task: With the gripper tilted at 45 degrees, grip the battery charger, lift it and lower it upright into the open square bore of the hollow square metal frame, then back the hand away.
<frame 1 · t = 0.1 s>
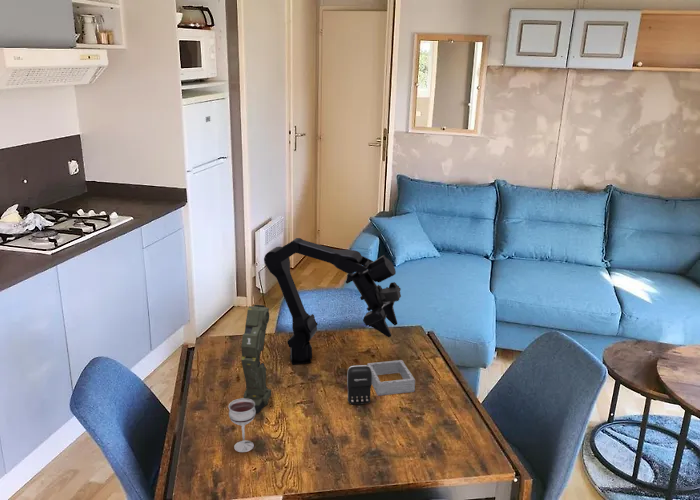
hand: (393, 330, 185), 15 cm above the table, tool tilted 35°, fingers open, 9 cm apart
hollow square metal frame: (390, 382, 183), on the table
wineglass: (244, 446, 152), on the table
battery charger: (359, 403, 172), on the table
mechanical leg: (257, 401, 173), on the table
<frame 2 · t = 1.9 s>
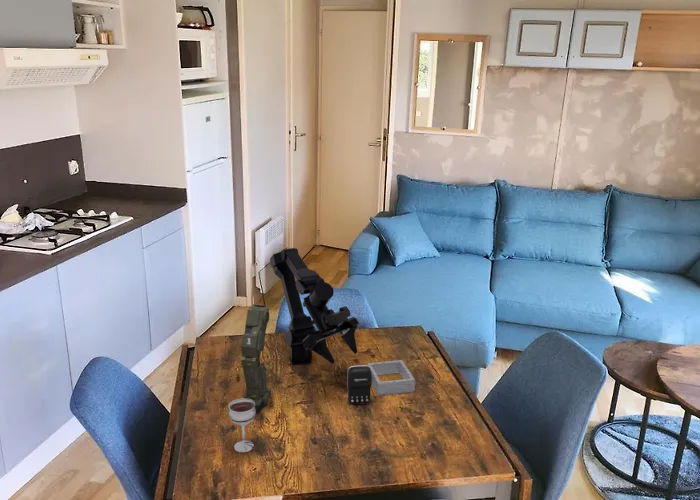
hand: (345, 358, 173), 12 cm above the table, tool tilted 45°, fingers open, 9 cm apart
nothing on the table moved.
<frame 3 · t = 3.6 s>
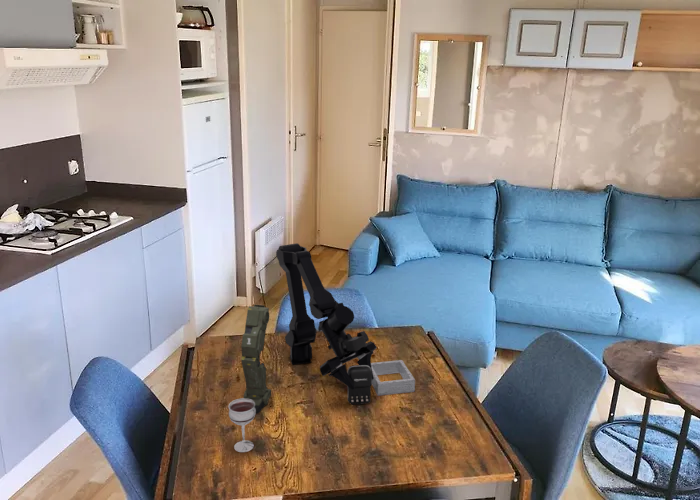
hand: (363, 384, 169), 7 cm above the table, tool tilted 45°, fingers open, 7 cm apart
battery charger: (359, 403, 172), on the table, touching gripper
everything else where it was.
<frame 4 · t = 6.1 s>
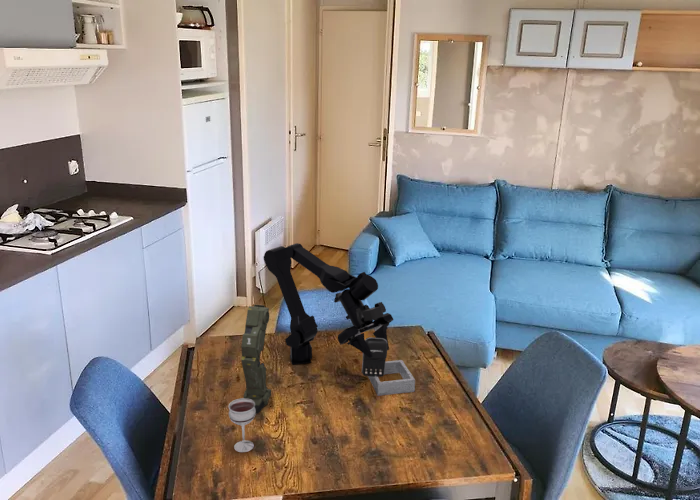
hand: (379, 353, 173), 13 cm above the table, tool tilted 45°, fingers closed on battery charger, 7 cm apart
battery charger: (372, 376, 175), point 6 cm above the table, touching gripper
everything else where it was.
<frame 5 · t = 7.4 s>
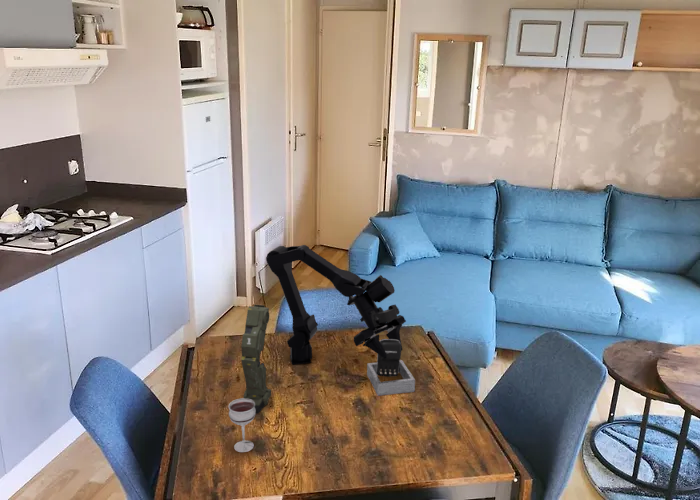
hand: (393, 354, 179), 10 cm above the table, tool tilted 45°, fingers closed on battery charger, 7 cm apart
battery charger: (387, 376, 182), point 3 cm above the table, touching gripper
everything else where it was.
when the fingers open (8 cm above the table, at t = 8.5 s): battery charger stays where it is, resting in hollow square metal frame.
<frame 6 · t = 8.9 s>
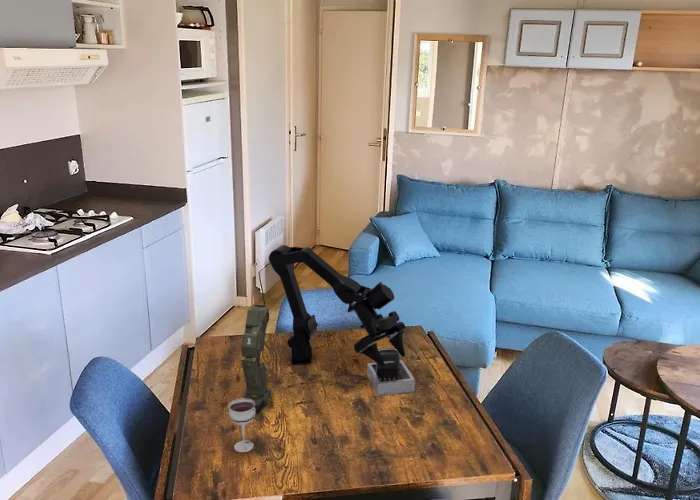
hand: (394, 361, 180), 8 cm above the table, tool tilted 45°, fingers open, 9 cm apart
battery charger: (387, 384, 182), resting in hollow square metal frame
everything else where it was.
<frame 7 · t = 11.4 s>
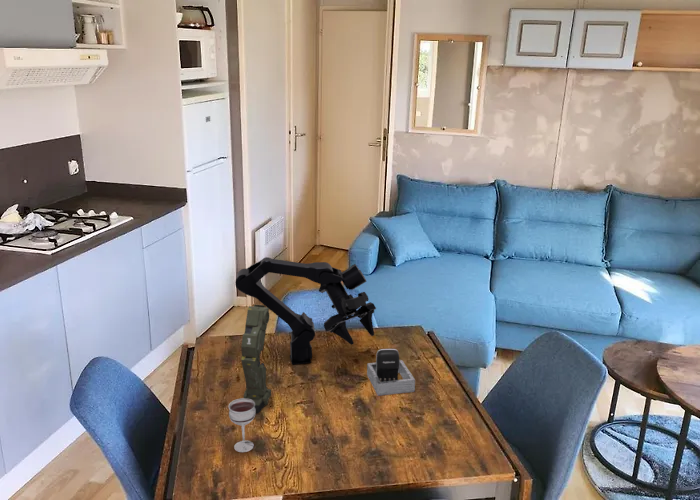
hand: (363, 339, 186), 11 cm above the table, tool tilted 45°, fingers open, 9 cm apart
nothing on the table moved.
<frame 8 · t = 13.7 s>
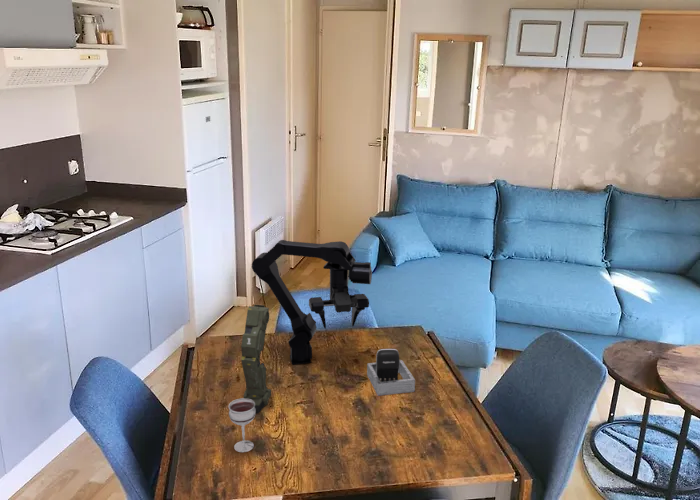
hand: (338, 327, 191), 13 cm above the table, tool pointing down, fingers open, 9 cm apart
nothing on the table moved.
at the end: battery charger 1.3 cm off-centre on the hollow square metal frame, point 0.0 cm above the hollow square metal frame's base; battery charger tilted 0°; the gripper is holding nothing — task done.
